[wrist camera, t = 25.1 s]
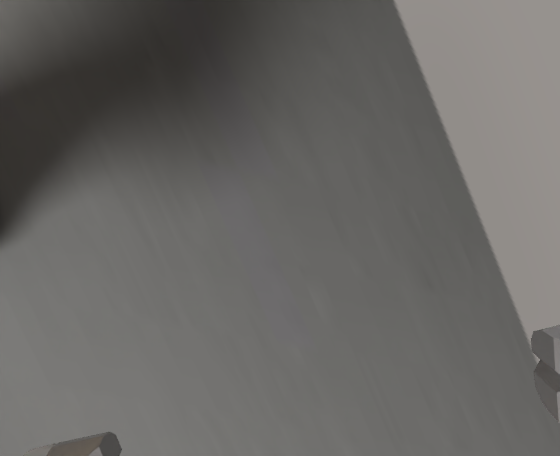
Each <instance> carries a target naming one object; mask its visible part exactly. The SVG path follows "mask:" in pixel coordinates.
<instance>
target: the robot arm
mask: <svg viewBox="0 0 560 456" xmlns="http://www.w3.org/2000/svg"><path fill="white" fill-rule="evenodd" d="M531 346H532V352H533V353H534V354H535V355H536V356H537V357H538V358H539V359H540V361H539V363H538V365H537V367H536V368H535V370H534V380H535V387H536V390H537V392H538V395H539V397H540V399H541V402H542V403H543V405H544V406H545V408H546V409H547V410H548V412H549V413H550V414H551V415H552V416H553V417H554V418H555V419H556V420H557V421H558V422H559V423H560V325H557V326H553V327H549V328H545V329H541V330H537V331H534V332H533V335H532V338H531ZM121 450H122V448H121V446H120V444H119V441H118V439H117V437H116V435H115V434H113V433H111V432H106V433H102V434H97V435H92V436H88V437H83V438H78V439H74V440H69V441H65V442H60V443H58V444H51V445H47V446H43V447H39V448H34V449H32V450H30V451H28V452H26V453H25V454H24V455H23V456H119V455H120V453H121Z"/></svg>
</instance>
